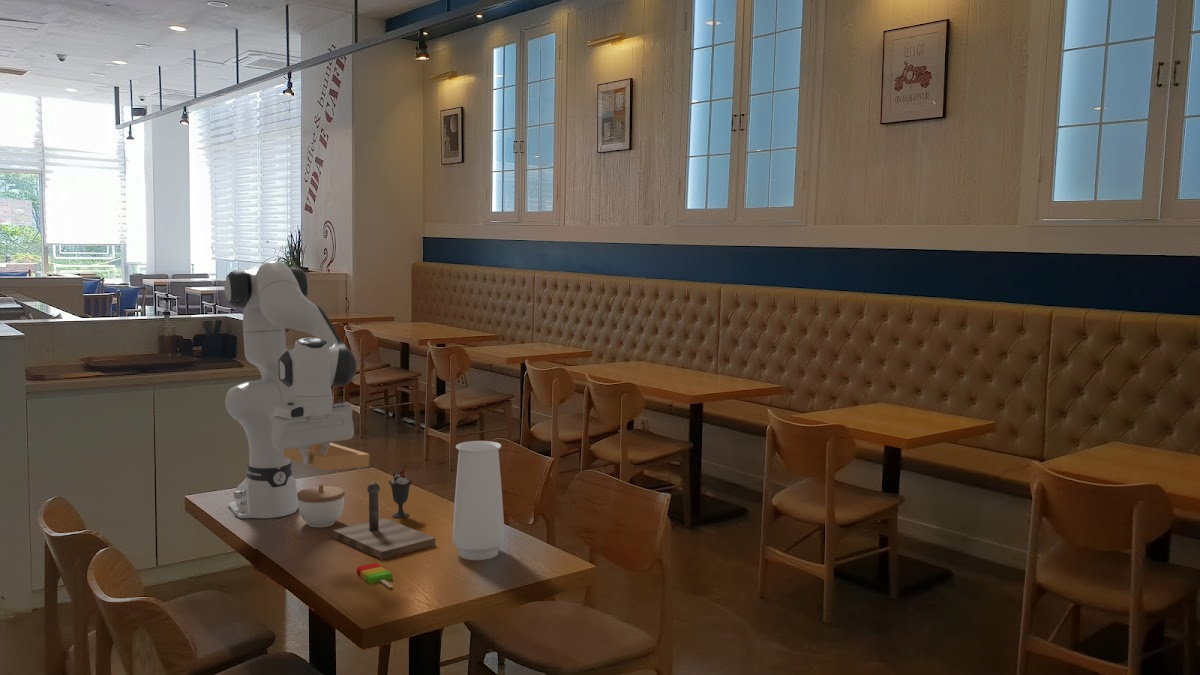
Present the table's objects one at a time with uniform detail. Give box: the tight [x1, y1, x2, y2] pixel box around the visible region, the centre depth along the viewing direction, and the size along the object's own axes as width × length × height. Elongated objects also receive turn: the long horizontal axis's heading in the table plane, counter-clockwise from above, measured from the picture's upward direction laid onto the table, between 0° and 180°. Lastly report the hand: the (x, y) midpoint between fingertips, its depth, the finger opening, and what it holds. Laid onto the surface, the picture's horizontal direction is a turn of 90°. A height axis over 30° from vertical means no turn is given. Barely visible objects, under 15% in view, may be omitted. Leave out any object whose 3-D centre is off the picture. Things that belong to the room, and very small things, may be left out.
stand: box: [331, 482, 436, 560], centre depth 242 cm, size 24×16×15 cm, turn 46°
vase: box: [452, 440, 505, 561], centre depth 233 cm, size 13×13×28 cm
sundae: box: [388, 465, 413, 519], centre depth 265 cm, size 7×7×15 cm
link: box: [284, 442, 370, 471], centre depth 229 cm, size 20×12×3 cm, turn 46°
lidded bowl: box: [297, 484, 346, 528], centre depth 257 cm, size 13×13×11 cm
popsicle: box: [356, 563, 394, 589], centre depth 216 cm, size 6×15×2 cm, turn 36°
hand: (314, 462), depth 223 cm, fingers closed on link, 2 cm apart
